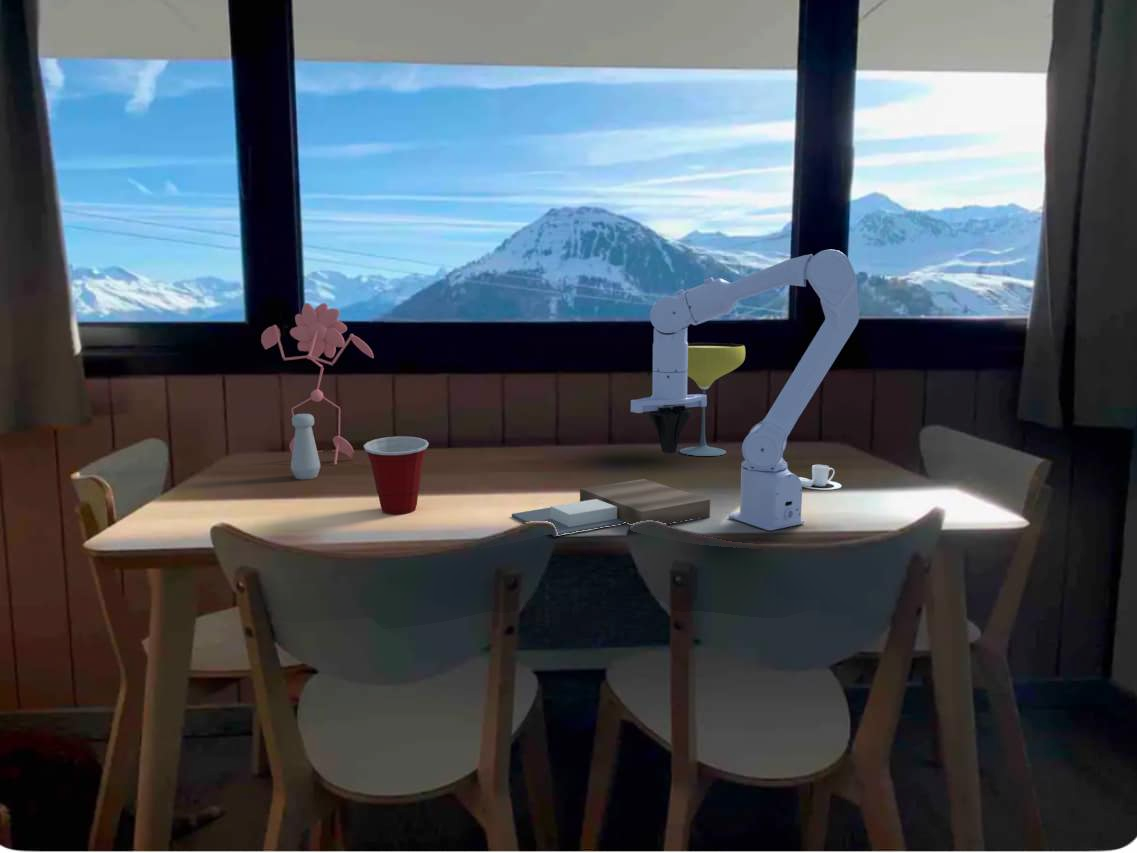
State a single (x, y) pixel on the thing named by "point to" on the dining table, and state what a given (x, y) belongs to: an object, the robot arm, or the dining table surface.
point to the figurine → (318, 351)
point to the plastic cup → (397, 471)
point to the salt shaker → (304, 448)
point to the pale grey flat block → (583, 512)
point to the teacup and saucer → (820, 478)
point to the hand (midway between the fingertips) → (668, 452)
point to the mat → (561, 528)
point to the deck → (649, 501)
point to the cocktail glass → (710, 378)
